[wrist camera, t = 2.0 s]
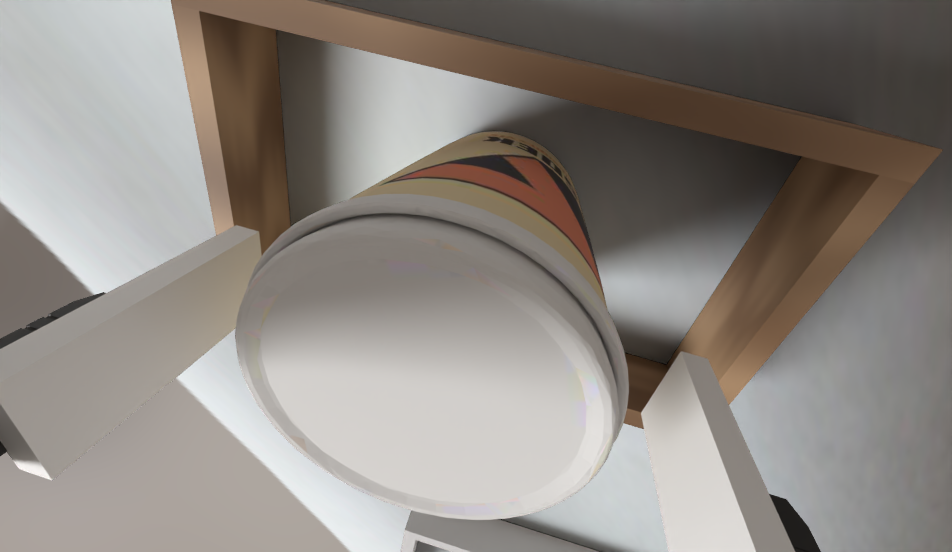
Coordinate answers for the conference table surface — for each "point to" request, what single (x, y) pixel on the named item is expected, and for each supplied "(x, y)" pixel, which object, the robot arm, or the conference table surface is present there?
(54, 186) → the conference table surface
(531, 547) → the gray rectangular frame
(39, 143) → the conference table surface
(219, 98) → the frame
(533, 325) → the coffee cup
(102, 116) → the conference table surface
